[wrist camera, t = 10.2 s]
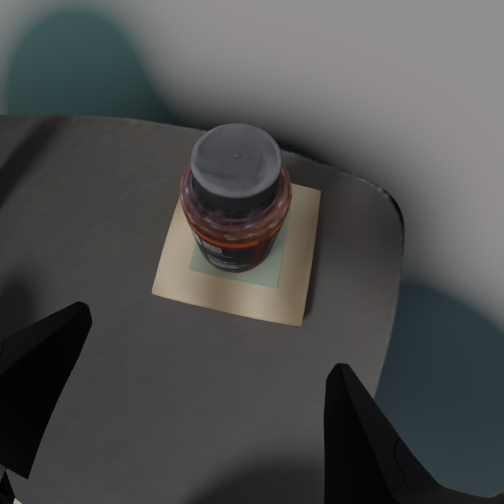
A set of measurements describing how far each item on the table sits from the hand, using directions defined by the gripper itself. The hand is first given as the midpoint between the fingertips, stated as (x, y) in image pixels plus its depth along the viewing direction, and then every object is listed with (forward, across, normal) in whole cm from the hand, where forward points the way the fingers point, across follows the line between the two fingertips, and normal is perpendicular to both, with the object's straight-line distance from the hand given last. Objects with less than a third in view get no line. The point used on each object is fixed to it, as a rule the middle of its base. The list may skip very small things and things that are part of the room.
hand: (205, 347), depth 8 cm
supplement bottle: (+14, 0, +3) cm, 14 cm away
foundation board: (+15, 0, +4) cm, 15 cm away
